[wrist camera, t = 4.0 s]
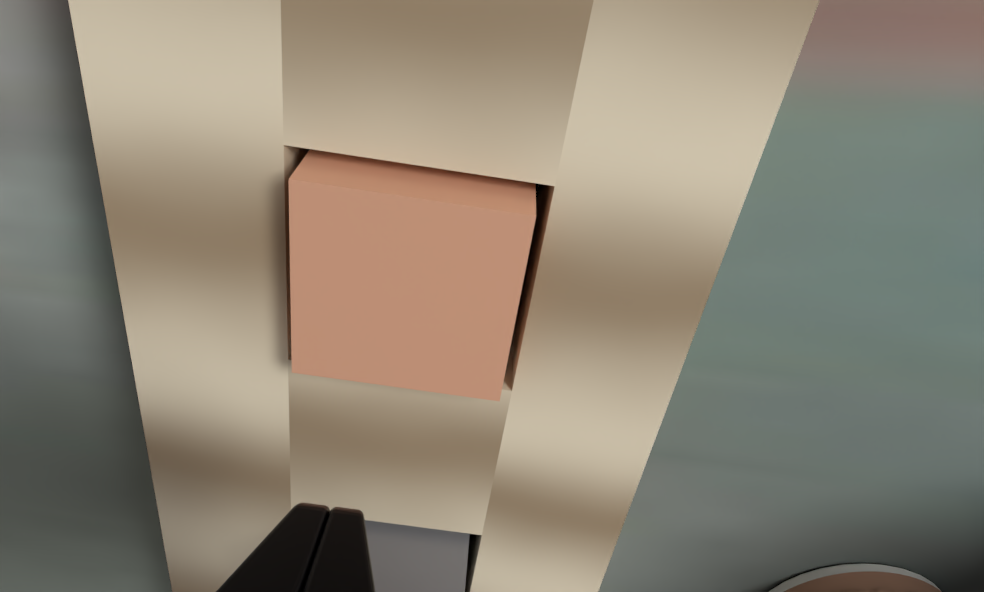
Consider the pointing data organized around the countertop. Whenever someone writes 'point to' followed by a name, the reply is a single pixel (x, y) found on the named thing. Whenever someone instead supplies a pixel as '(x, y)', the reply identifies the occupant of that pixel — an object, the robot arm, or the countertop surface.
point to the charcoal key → (417, 558)
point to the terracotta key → (406, 273)
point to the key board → (444, 145)
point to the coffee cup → (858, 580)
